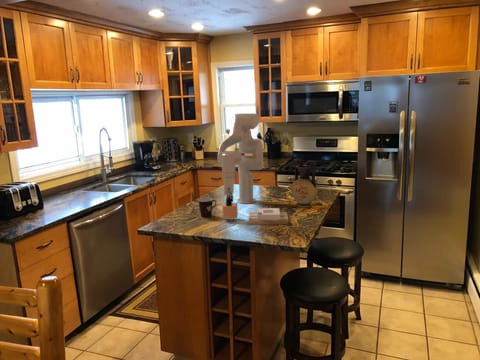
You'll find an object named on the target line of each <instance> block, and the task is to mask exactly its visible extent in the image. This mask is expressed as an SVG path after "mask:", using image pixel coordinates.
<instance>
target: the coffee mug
mask: <svg viewBox="0 0 480 360" xmlns="http://www.w3.org/2000/svg"><path fill="white" fill-rule="evenodd" d="M197 201H198V208H199V213H200V217H201V218H210V217H212V214H213V209H214V208H215V207H216V206H217V200H216V199H213V198H210V197H204V198H203V197H202V198H199V199H198V200H197ZM213 202H215V204H214V205H213Z"/></svg>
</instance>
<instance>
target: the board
mask: <svg viewBox="0 0 480 360" xmlns="http://www.w3.org/2000/svg"><path fill="white" fill-rule="evenodd" d="M248 217H249V218H248V225H289V218H288V217H289V216H288V213H287V211H283V212H282V211H281V212H280V220H257V212H249V216H248Z"/></svg>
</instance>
